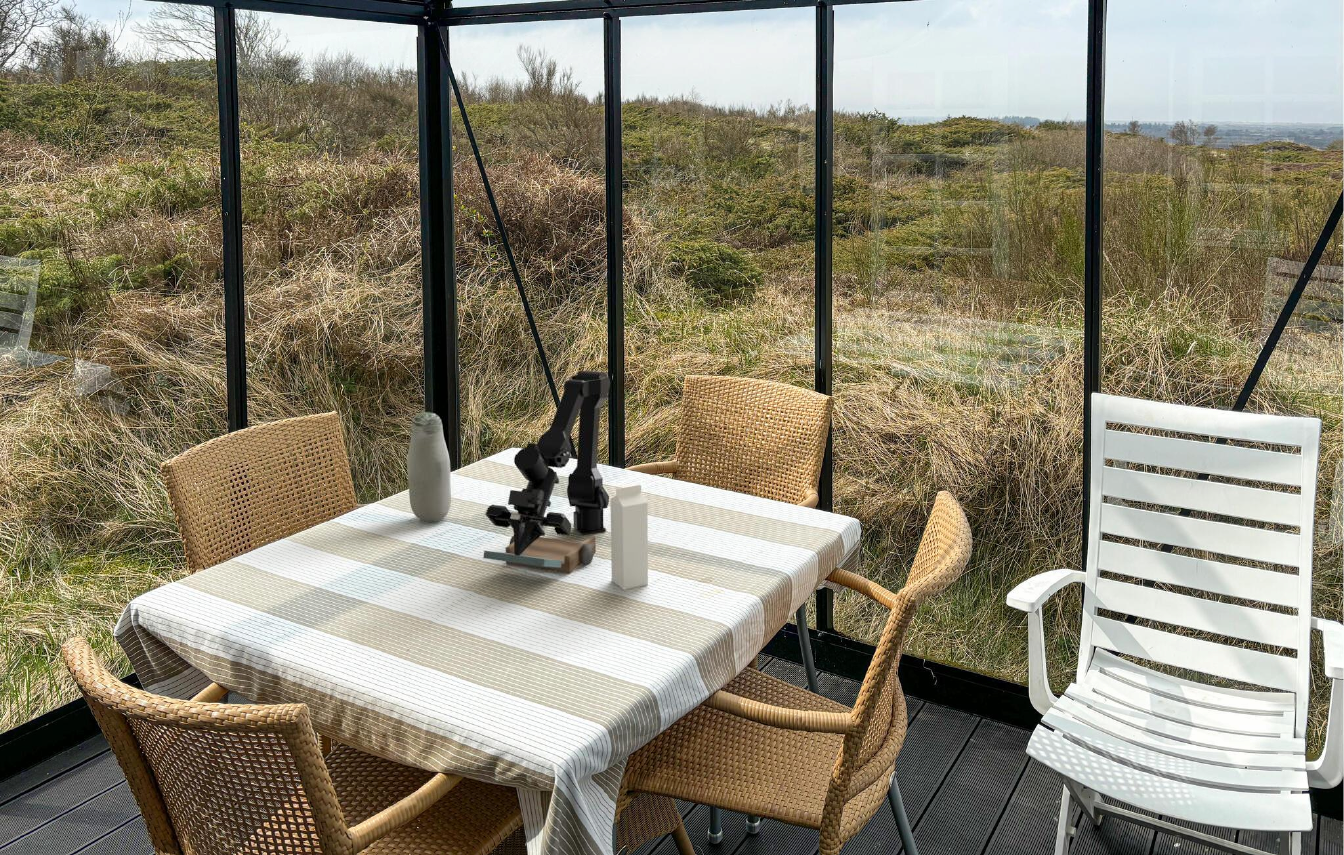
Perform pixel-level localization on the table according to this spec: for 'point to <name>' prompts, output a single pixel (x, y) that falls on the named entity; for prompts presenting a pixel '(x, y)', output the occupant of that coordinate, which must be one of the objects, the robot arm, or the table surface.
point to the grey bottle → (428, 469)
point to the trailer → (558, 553)
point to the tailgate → (522, 559)
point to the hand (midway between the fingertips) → (516, 554)
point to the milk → (629, 538)
